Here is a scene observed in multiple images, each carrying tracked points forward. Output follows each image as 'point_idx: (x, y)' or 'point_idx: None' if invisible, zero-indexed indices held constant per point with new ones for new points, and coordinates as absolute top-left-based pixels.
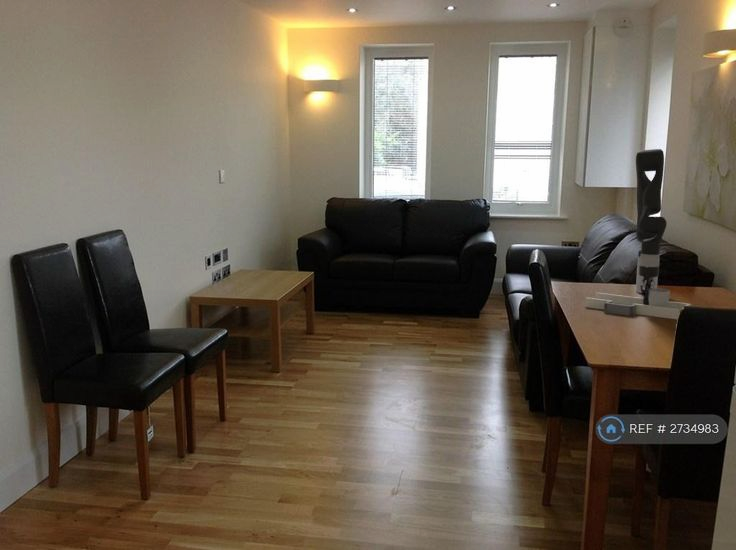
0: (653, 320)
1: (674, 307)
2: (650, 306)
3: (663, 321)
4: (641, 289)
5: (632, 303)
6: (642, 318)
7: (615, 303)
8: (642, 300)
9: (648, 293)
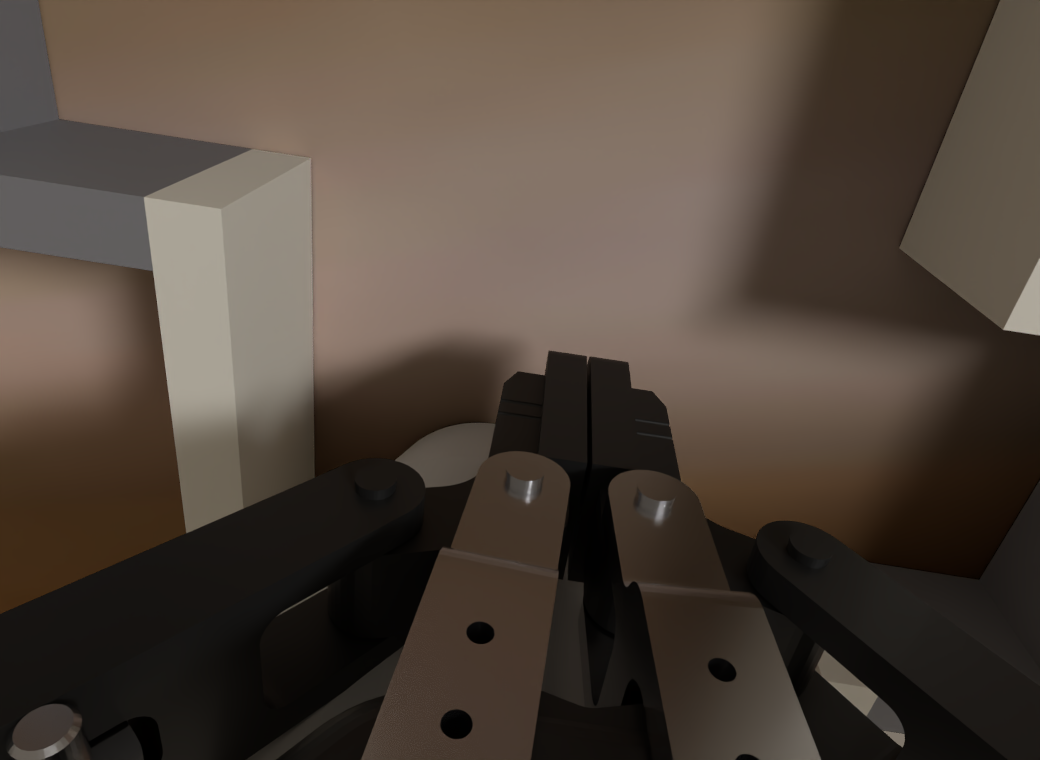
0: (12, 484)
1: None
2: (188, 526)
3: (60, 583)
4: (9, 630)
5: (1032, 22)
6: (5, 344)
7: None
8: (975, 303)
9: (346, 666)
